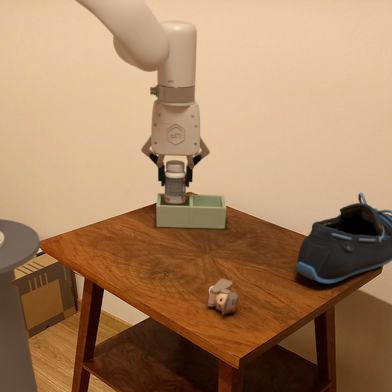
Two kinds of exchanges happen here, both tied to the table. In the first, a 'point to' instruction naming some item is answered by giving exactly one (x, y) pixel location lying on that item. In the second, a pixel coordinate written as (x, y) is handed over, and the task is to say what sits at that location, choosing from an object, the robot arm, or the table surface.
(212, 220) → the rack
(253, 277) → the table surface
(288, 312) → the table surface
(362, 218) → the moccasin
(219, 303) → the toy character
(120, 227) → the table surface
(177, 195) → the pill bottle
